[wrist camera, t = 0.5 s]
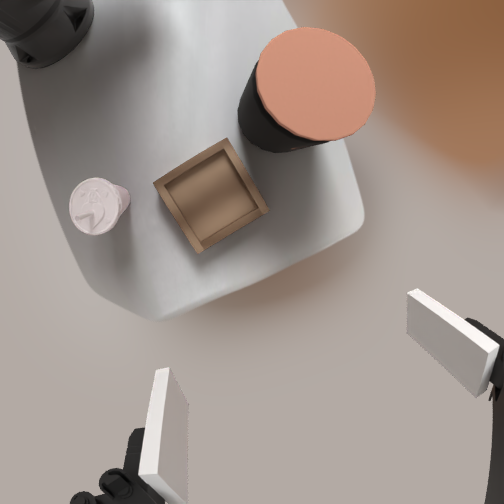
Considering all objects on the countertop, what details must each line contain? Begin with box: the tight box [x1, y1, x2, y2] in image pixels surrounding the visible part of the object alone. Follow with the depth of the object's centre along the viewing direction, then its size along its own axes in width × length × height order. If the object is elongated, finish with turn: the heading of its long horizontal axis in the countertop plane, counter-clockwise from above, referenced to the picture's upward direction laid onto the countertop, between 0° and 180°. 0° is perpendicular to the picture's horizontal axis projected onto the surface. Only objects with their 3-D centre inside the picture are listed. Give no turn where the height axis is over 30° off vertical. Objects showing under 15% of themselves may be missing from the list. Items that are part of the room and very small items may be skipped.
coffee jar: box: [238, 27, 376, 153], centre depth 30 cm, size 11×11×18 cm
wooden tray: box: [153, 138, 270, 254], centre depth 38 cm, size 10×10×4 cm
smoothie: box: [69, 177, 130, 235], centre depth 32 cm, size 6×6×14 cm
